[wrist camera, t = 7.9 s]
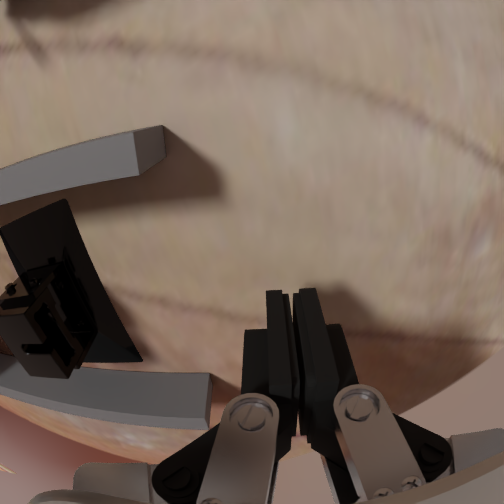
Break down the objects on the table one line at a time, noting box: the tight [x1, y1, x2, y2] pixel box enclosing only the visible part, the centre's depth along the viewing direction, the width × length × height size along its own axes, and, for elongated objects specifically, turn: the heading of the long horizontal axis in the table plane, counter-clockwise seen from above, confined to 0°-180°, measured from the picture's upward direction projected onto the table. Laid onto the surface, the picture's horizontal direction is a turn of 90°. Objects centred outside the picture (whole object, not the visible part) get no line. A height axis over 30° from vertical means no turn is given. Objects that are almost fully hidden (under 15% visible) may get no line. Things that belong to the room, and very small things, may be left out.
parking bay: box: [0, 125, 213, 430], centre depth 11 cm, size 18×14×5 cm
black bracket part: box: [0, 199, 143, 379], centre depth 11 cm, size 12×7×5 cm, turn 11°
